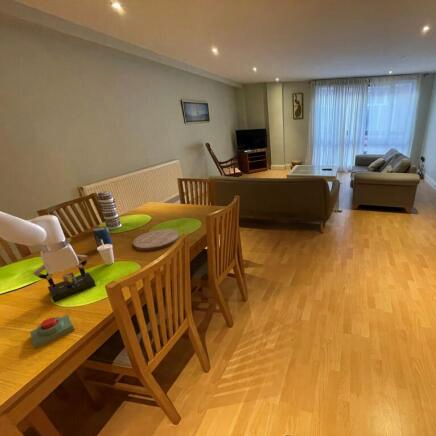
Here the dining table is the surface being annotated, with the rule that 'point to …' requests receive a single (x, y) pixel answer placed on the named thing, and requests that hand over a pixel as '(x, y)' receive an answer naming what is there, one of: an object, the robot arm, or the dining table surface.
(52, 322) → the power button
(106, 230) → the soda can
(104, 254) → the smoothie
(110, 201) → the grey ringed cylinder
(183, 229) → the dining table surface
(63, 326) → the push button box
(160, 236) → the trivet
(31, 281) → the dining table surface
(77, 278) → the hob panel
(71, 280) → the hob knob
